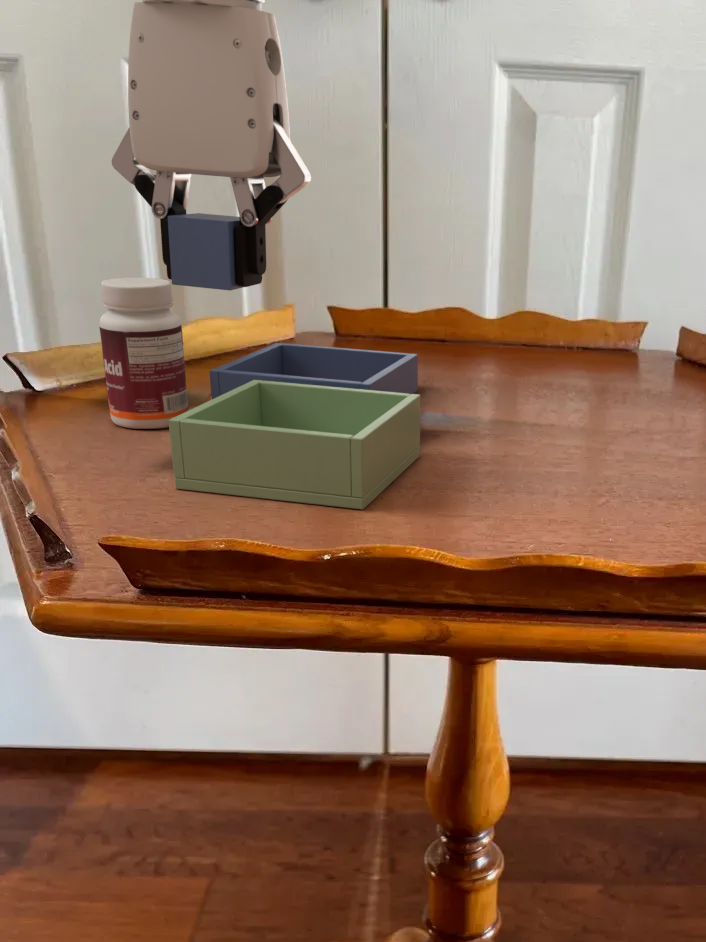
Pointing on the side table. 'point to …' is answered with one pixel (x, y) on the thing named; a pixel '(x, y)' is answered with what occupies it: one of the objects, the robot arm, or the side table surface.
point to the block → (203, 250)
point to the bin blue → (320, 369)
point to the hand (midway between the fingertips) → (215, 278)
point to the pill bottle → (142, 353)
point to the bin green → (297, 443)
